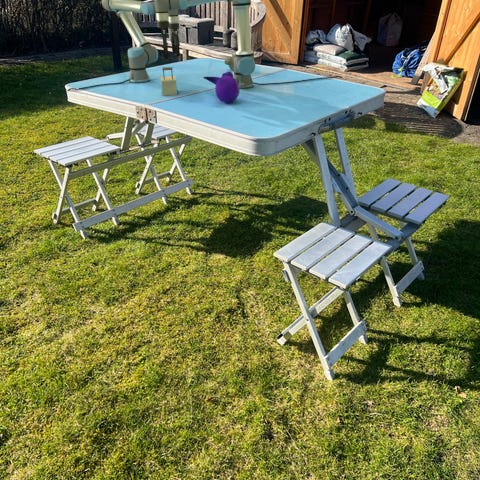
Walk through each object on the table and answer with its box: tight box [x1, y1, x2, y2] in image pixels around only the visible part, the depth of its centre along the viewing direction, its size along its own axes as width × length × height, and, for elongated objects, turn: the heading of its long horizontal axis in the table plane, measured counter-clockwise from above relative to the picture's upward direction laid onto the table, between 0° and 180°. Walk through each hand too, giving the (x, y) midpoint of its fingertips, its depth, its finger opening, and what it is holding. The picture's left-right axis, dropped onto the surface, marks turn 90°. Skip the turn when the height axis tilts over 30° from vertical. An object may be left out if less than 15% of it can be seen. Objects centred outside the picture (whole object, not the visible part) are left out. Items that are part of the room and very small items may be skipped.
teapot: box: [223, 50, 237, 72], centre depth 368 cm, size 21×12×15 cm, turn 120°
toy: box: [203, 71, 241, 104], centre depth 277 cm, size 16×18×27 cm
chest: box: [160, 80, 178, 97], centre depth 300 cm, size 13×10×9 cm
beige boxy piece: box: [160, 66, 177, 82], centre depth 295 cm, size 14×10×8 cm
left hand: (176, 54), depth 330 cm, fingers open, 13 cm apart
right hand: (166, 57), depth 287 cm, fingers open, 13 cm apart
